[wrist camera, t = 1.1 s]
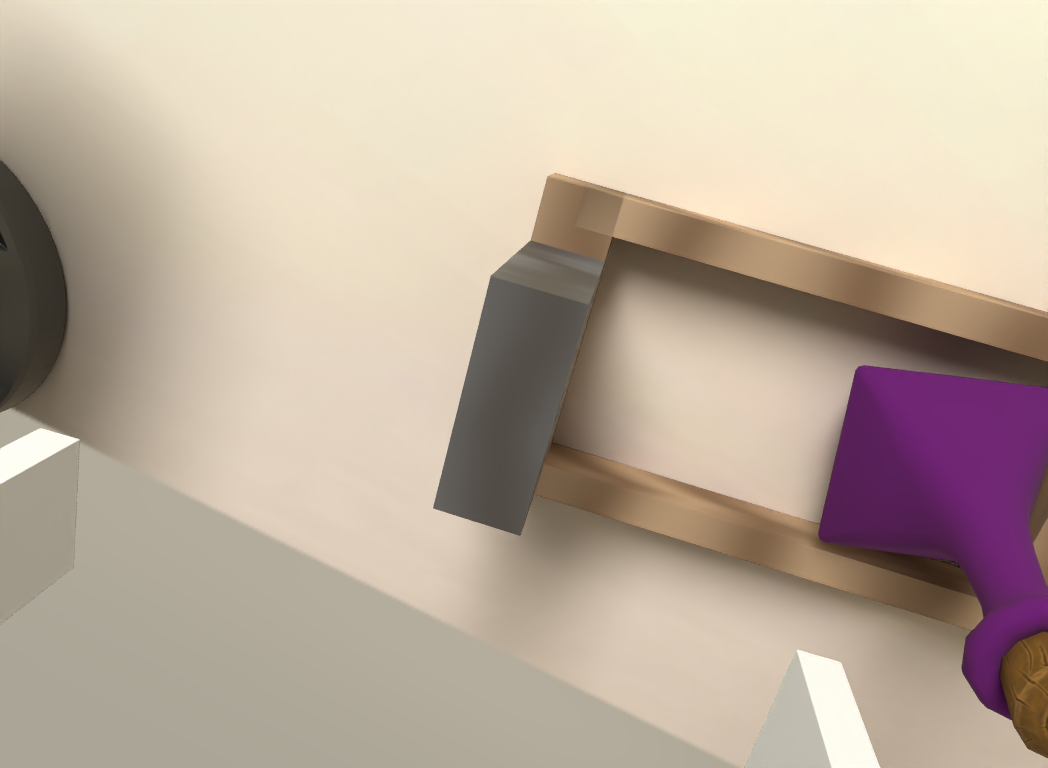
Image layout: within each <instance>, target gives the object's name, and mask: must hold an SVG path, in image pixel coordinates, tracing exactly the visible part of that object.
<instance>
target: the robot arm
mask: <svg viewBox="0 0 1048 768" xmlns="http://www.w3.org/2000/svg"><path fill="white" fill-rule="evenodd" d="M65 318H66V294H65V285H64V278H63V273H62V268H61V264H60V260H59V256H58V253H57V250H56V247H55V244H54V241H53V239H52V236H51V234H50V231H49V229H48V227H47V225H46V223H45V221H44V219H43V217H42V215H41V213H40V211H39V209H38V208H37V206H36V204H35V203H34V201H33V200H32V198H31V196H30V195H29V194H28V192H27V191H26V189H25V188H24V186H23V185H22V184H21V183H20V181H19V180H18V179H17V177H16V176H15V175H14V174H13V173H12V172H11V171H10V169H9V168H8V167H7V166H6V165H5V164H4V163H3V162H2V161H1V160H0V412H2V411H5V410H7V409H9V408H11V407H13V406H15V405H17V404H18V403H20V402H21V401H23V400H24V399H25V398H27V397H28V396H29V395H30V394H31V393H32V392H34V391H35V390H36V389H37V388H38V386H39V385H40V384H41V383H42V382H43V380H44V379H45V377H46V376H47V375H48V373H49V371H50V370H51V368H52V366H53V364H54V362H55V360H56V357H57V355H58V352H59V349H60V346H61V342H62V338H63V333H64V328H65ZM79 446H80V439H76V438H73V437H70V436H66V435H63V434H59V433H56V432H52V431H49V430H45V429H42V428H39V429H37V430H35V431H33V432H31V433H29V434H27V435H25V436H24V437H21V438H19V439H17V440H16V441H13V442H12V443H9V444H7V445H6V446H4V447H2V448H0V624H1V623H3V622H4V621H5V620H7V619H8V618H9V617H10V616H12V615H13V614H14V613H16V612H17V611H18V610H19V609H21V608H22V607H23V606H24V605H26V604H27V603H28V602H30V601H31V600H32V599H34V598H35V597H36V596H37V595H39V594H40V593H41V592H42V591H44V590H45V589H46V588H48V587H49V586H50V585H51V584H53V583H54V582H55V581H57V580H58V579H59V578H60V577H62V576H63V575H64V574H66V573H67V572H68V571H69V570H71V569H72V568H73V567H74V549H75V548H74V547H75V528H76V507H77V487H78V466H79ZM744 768H880V767H879V764H878V761H877V758H876V756H875V753H874V750H873V748H872V745H871V742H870V740H869V737H868V734H867V731H866V729H865V726H864V723H863V721H862V718H861V715H860V713H859V710H858V707H857V704H856V702H855V699H854V696H853V694H852V691H851V688H850V686H849V683H848V680H847V677H846V675H845V672H844V669H843V667H842V664H841V662H838V661H835V660H831V659H828V658H825V657H821V656H818V655H814V654H811V653H807V652H804V651H801V650H796V652H795V654H794V656H793V659H792V661H791V663H790V665H789V668H788V670H787V672H786V675H785V677H784V679H783V681H782V684H781V686H780V688H779V690H778V693H777V695H776V697H775V699H774V702H773V704H772V706H771V709H770V711H769V713H768V715H767V718H766V720H765V722H764V724H763V727H762V729H761V731H760V733H759V736H758V738H757V740H756V742H755V745H754V747H753V749H752V752H751V754H750V756H749V758H748V761H747V763H746V765H745V767H744Z"/></svg>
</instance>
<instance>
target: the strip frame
mask: <svg viewBox="0 0 1048 768" xmlns="http://www.w3.org/2000/svg"><path fill="white" fill-rule="evenodd" d="M613 237H615V238H618V239H622V240H625V241H629V242H632V243H636V244H639V245H643V246H646V247H650V248H653V249H657V250H660V251H664V252H667V253H671V254H674V255H678V256H681V257H685V258H688V259H692V260H695V261H699V262H702V263H706V264H709V265H713V266H716V267H720V268H723V269H726V270H730V271H733V272H737V273H740V274H744V275H747V276H751V277H754V278H758V279H761V280H765V281H768V282H772V283H775V284H779V285H782V286H786V287H789V288H793V289H796V290H800V291H803V292H807V293H810V294H814V295H817V296H821V297H824V298H828V299H831V300H834V301H838V302H841V303H845V304H848V305H852V306H855V307H859V308H862V309H866V310H869V311H873V312H876V313H880V314H883V315H887V316H890V317H894V318H897V319H901V320H904V321H908V322H911V323H915V324H918V325H922V326H925V327H929V328H932V329H936V330H939V331H942V332H946V333H949V334H953V335H956V336H960V337H963V338H967V339H970V340H974V341H977V342H981V343H984V344H988V345H991V346H995V347H998V348H1002V349H1005V350H1009V351H1012V352H1016V353H1019V354H1023V355H1026V356H1030V357H1033V358H1037V359H1040V360H1044V361H1047V362H1048V312H1044V311H1041V310H1037V309H1034V308H1030V307H1026V306H1023V305H1019V304H1016V303H1012V302H1009V301H1005V300H1002V299H998V298H995V297H991V296H988V295H984V294H981V293H977V292H973V291H970V290H966V289H963V288H959V287H956V286H952V285H949V284H945V283H942V282H938V281H935V280H931V279H927V278H924V277H920V276H917V275H913V274H910V273H906V272H903V271H899V270H896V269H892V268H889V267H885V266H882V265H878V264H874V263H871V262H867V261H864V260H860V259H857V258H853V257H850V256H846V255H843V254H839V253H836V252H832V251H829V250H825V249H821V248H818V247H814V246H811V245H807V244H804V243H800V242H797V241H793V240H790V239H786V238H783V237H779V236H776V235H772V234H768V233H765V232H761V231H758V230H754V229H751V228H747V227H744V226H740V225H737V224H733V223H730V222H726V221H723V220H719V219H715V218H712V217H708V216H705V215H701V214H698V213H694V212H691V211H687V210H684V209H680V208H677V207H673V206H669V205H666V204H662V203H659V202H655V201H652V200H648V199H645V198H641V197H638V196H634V195H631V194H627V193H624V192H620V191H616V190H613V189H609V188H606V187H602V186H599V185H595V184H592V183H588V182H585V181H581V180H578V179H574V178H571V177H567V176H563V175H560V174H556V173H555V174H552V175H550V176H548V177H547V181H546V184H545V188H544V192H543V196H542V200H541V203H540V207H539V211H538V215H537V219H536V223H535V226H534V230H533V234H532V238H531V241H530V242H528V243H527V244H526V245H525V246H524V247H523V248H522V249H521V250H519V251H518V252H517V253H516V254H515V255H514V256H513V257H512V258H510V259H509V260H508V261H507V262H506V263H505V264H504V265H503V266H502V267H500V268H499V269H498V270H497V271H496V272H495V273H494V274H493V275H491V278H490V282H489V286H488V290H487V294H486V298H485V302H484V306H483V310H482V314H481V318H480V322H479V326H478V330H477V334H476V338H475V342H474V346H473V350H472V354H471V358H470V362H469V366H468V370H467V374H466V378H465V382H464V386H463V390H462V394H461V398H460V402H459V406H458V410H457V414H456V418H455V422H454V426H453V430H452V434H451V438H450V442H449V446H448V450H447V454H446V459H445V463H444V467H443V471H442V475H441V479H440V483H439V487H438V491H437V495H436V499H435V503H434V507H433V508H434V509H437V510H440V511H443V512H446V513H450V514H453V515H456V516H459V517H462V518H465V519H469V520H472V521H475V522H478V523H481V524H485V525H488V526H491V527H494V528H497V529H500V530H504V531H507V532H510V533H513V534H516V535H519V536H520V535H521V532H522V529H523V526H524V523H525V520H526V517H527V514H528V511H529V508H530V505H531V502H532V499H533V496H534V494H535V495H538V496H541V497H544V498H548V499H551V500H554V501H557V502H560V503H564V504H567V505H570V506H573V507H577V508H580V509H583V510H586V511H589V512H593V513H596V514H599V515H602V516H605V517H609V518H612V519H615V520H618V521H622V522H625V523H628V524H631V525H634V526H638V527H641V528H644V529H647V530H650V531H654V532H657V533H660V534H663V535H667V536H670V537H673V538H676V539H679V540H683V541H686V542H689V543H692V544H695V545H699V546H702V547H705V548H708V549H712V550H715V551H718V552H721V553H724V554H728V555H731V556H734V557H737V558H740V559H744V560H747V561H750V562H753V563H757V564H760V565H763V566H766V567H769V568H773V569H776V570H779V571H782V572H785V573H789V574H792V575H795V576H798V577H802V578H805V579H808V580H811V581H814V582H818V583H821V584H824V585H827V586H830V587H834V588H837V589H840V590H843V591H847V592H850V593H853V594H856V595H859V596H863V597H866V598H869V599H872V600H875V601H879V602H882V603H885V604H888V605H892V606H895V607H898V608H901V609H904V610H908V611H911V612H914V613H917V614H920V615H924V616H927V617H930V618H933V619H937V620H940V621H943V622H946V623H949V624H953V625H956V626H959V627H962V628H965V629H969V630H973V629H974V628H975V627H976V626H977V625H978V624H979V623H980V621H981V620H982V619H983V613H982V607H981V605H980V603H979V601H978V599H977V596H976V594H975V592H974V590H973V588H972V586H971V584H970V582H969V580H968V578H967V576H966V574H965V572H964V570H963V569H962V568H960V567H957V566H953V565H950V564H947V563H943V562H940V561H937V560H934V559H930V558H927V557H921V556H914V555H907V554H900V553H893V552H887V551H880V550H873V549H866V548H859V547H852V546H845V545H839V544H832V543H826V542H824V541H822V540H820V539H819V536H818V532H819V527H820V525H819V524H816V523H813V522H810V521H806V520H803V519H800V518H797V517H793V516H790V515H787V514H783V513H780V512H777V511H774V510H770V509H767V508H764V507H761V506H757V505H754V504H751V503H748V502H744V501H741V500H738V499H734V498H731V497H728V496H725V495H721V494H718V493H715V492H712V491H708V490H705V489H702V488H699V487H695V486H692V485H689V484H685V483H682V482H679V481H676V480H672V479H669V478H666V477H663V476H659V475H656V474H653V473H650V472H646V471H643V470H640V469H636V468H633V467H630V466H627V465H623V464H620V463H617V462H614V461H610V460H607V459H604V458H601V457H597V456H594V455H591V454H587V453H584V452H581V451H578V450H574V449H571V448H568V447H565V446H561V445H558V444H555V443H552V439H553V436H554V432H555V429H556V426H557V422H558V419H559V416H560V412H561V409H562V406H563V402H564V399H565V396H566V392H567V389H568V386H569V382H570V379H571V375H572V372H573V369H574V365H575V362H576V359H577V355H578V352H579V349H580V345H581V342H582V339H583V335H584V332H585V329H586V325H587V322H588V318H589V315H590V312H591V308H592V305H593V302H594V298H595V295H596V292H597V288H598V285H599V282H600V278H601V275H602V272H603V268H604V265H605V261H606V258H607V255H608V251H609V248H610V245H611V241H612V238H613ZM1030 534H1031V538H1032V541H1033V545H1034V549H1035V553H1036V556H1037V559H1038V562H1039V564H1040V567H1041V570H1042V573H1043V576H1044V579H1045V582H1046V585H1047V586H1048V464H1047V467H1046V470H1045V474H1044V477H1043V480H1042V483H1041V486H1040V489H1039V492H1038V495H1037V498H1036V501H1035V505H1034V508H1033V511H1032V514H1031V517H1030Z"/></svg>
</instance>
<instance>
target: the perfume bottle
mask: <svg viewBox="0 0 1048 768" xmlns="http://www.w3.org/2000/svg"><path fill="white" fill-rule="evenodd" d="M1047 464H1048V387H1040V386H1032V385H1024V384H1015V383H1007V382H999V381H990V380H982V379H973V378H965V377H957V376H948V375H940V374H932V373H923V372H915V371H907V370H898V369H890V368H882V367H873V366H865V365H864V366H859V367H858V368H857V370H856V371H855V375H854V379H853V383H852V388H851V392H850V397H849V401H848V405H847V410H846V414H845V418H844V423H843V427H842V431H841V436H840V440H839V445H838V449H837V453H836V458H835V462H834V466H833V471H832V475H831V479H830V484H829V488H828V493H827V497H826V501H825V506H824V510H823V514H822V519H821V523H820V527H819V532H818V536H819V539H820V540H822V541H824V542H826V543H832V544H839V545H845V546H852V547H859V548H866V549H873V550H880V551H887V552H893V553H900V554H907V555H914V556H921V557H928V558H935V559H942V560H948V561H955V562H956V563H957V564H958V565H959V566H960V567H961V568H962V569H963V570H964V572H965V574H966V576H967V578H968V580H969V582H970V584H971V586H972V588H973V590H974V592H975V594H976V596H977V599H978V601H979V603H980V605H981V607H982V613H983V619H982V620H981V621H980V623H979V624H978V625H977V626H976V627H975V628H974V629H973V630H972V631H971V632H970V633H969V635H968V636H967V637H966V640H965V647H964V654H963V661H962V672H963V675H964V676H965V678H966V680H967V681H968V683H969V684H970V686H971V688H972V689H973V691H974V692H975V694H976V696H977V697H978V699H979V700H980V702H981V703H982V704H984V705H985V706H986V707H987V708H988V709H990V710H992V711H994V712H996V713H998V714H1000V715H1002V716H1004V717H1006V718H1008V719H1010V720H1012V722H1013V725H1014V727H1015V729H1016V731H1017V732H1018V734H1019V735H1020V737H1021V739H1022V740H1023V742H1024V743H1025V745H1026V747H1027V748H1028V749H1029V750H1032V751H1034V752H1036V753H1038V754H1040V755H1042V756H1044V757H1046V758H1048V586H1047V585H1046V582H1045V579H1044V576H1043V573H1042V570H1041V567H1040V564H1039V562H1038V559H1037V556H1036V553H1035V549H1034V545H1033V541H1032V538H1031V534H1030V517H1031V514H1032V511H1033V508H1034V505H1035V501H1036V498H1037V495H1038V492H1039V489H1040V486H1041V483H1042V480H1043V477H1044V474H1045V470H1046V467H1047Z"/></svg>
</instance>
